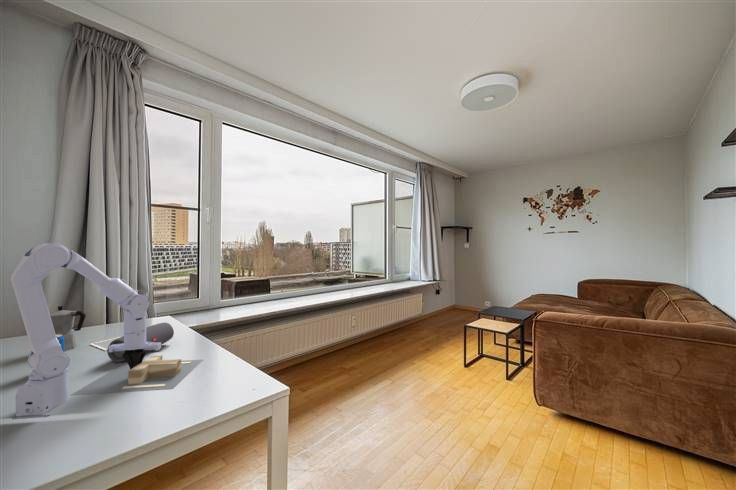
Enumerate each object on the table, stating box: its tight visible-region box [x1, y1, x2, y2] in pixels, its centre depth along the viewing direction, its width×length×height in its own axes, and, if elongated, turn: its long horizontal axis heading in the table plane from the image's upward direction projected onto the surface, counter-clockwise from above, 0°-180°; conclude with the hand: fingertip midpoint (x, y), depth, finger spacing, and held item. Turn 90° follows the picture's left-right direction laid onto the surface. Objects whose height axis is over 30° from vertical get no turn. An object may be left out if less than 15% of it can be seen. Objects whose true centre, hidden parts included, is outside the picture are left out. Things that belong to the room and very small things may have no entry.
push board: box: [71, 359, 204, 396], centre depth 97 cm, size 22×27×1 cm
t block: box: [128, 355, 182, 384], centre depth 98 cm, size 12×12×4 cm
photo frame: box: [89, 336, 121, 352], centre depth 132 cm, size 15×1×18 cm
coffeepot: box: [49, 305, 87, 352], centre depth 123 cm, size 15×9×18 cm, turn 101°
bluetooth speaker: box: [106, 322, 175, 363], centre depth 118 cm, size 23×9×10 cm, turn 176°
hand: (135, 372), depth 97 cm, fingers closed
